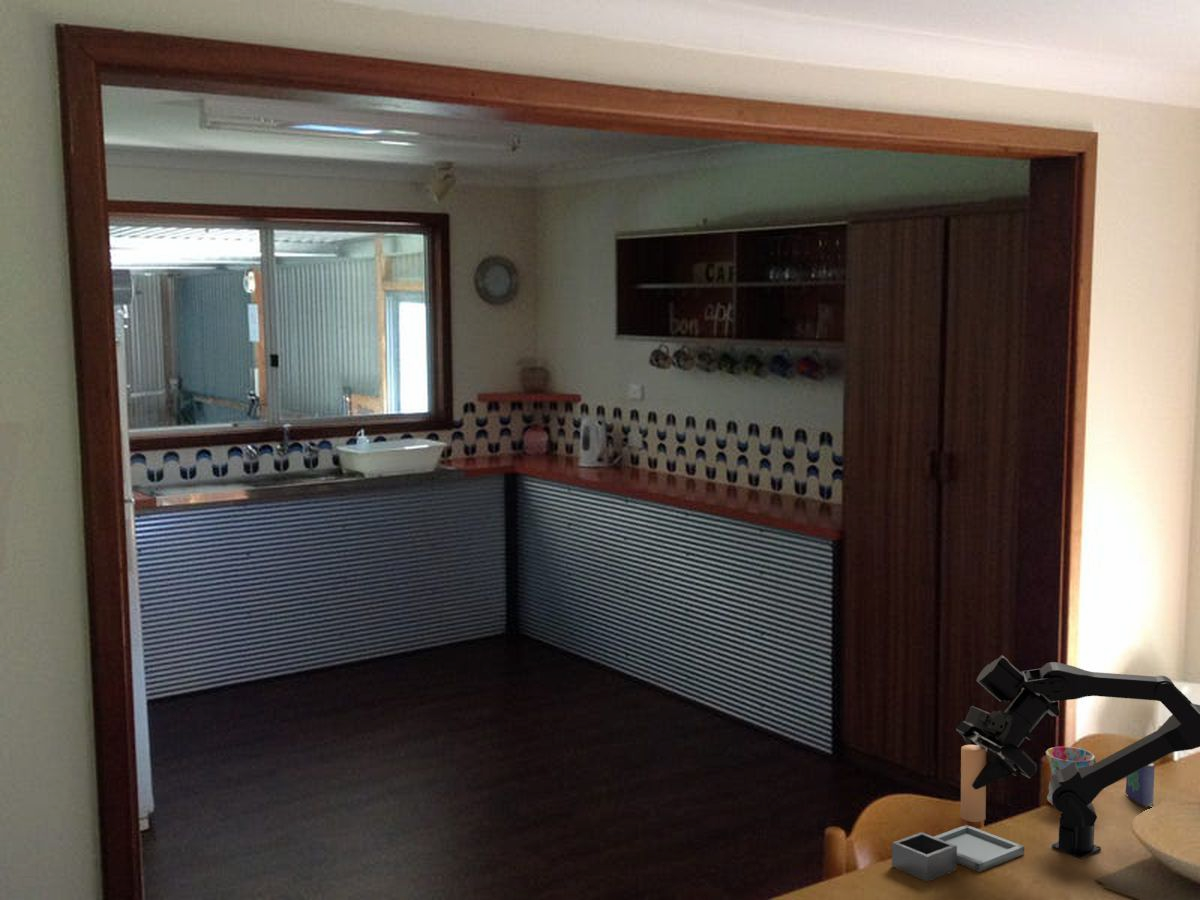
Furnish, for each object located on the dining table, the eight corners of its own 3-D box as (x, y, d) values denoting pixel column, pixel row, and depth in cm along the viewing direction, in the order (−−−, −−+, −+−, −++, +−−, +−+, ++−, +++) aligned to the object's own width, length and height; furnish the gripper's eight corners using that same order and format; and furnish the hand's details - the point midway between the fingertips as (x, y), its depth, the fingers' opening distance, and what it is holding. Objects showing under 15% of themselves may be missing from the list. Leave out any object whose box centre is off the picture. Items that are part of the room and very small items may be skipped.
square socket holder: (921, 855, 237) (921, 831, 237) (956, 870, 231) (956, 845, 230) (891, 866, 233) (892, 842, 232) (927, 881, 226) (927, 857, 226)
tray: (966, 832, 248) (966, 824, 248) (1024, 854, 238) (1024, 846, 237) (921, 848, 240) (921, 841, 240) (979, 872, 230) (979, 864, 230)
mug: (1071, 816, 256) (1072, 764, 255) (1034, 801, 264) (1035, 751, 263) (1112, 805, 261) (1114, 754, 260) (1075, 790, 269) (1076, 741, 268)
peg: (970, 810, 241) (971, 743, 240) (990, 817, 237) (991, 749, 236) (955, 816, 238) (956, 748, 237) (975, 823, 235) (976, 754, 233)
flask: (1155, 808, 259) (1157, 756, 258) (1141, 809, 259) (1142, 757, 258) (1135, 792, 269) (1136, 742, 268) (1121, 792, 268) (1122, 742, 267)
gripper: (965, 678, 246) (913, 741, 244) (1023, 705, 228) (967, 773, 226) (1001, 714, 248) (950, 776, 247) (1060, 744, 231) (1006, 811, 229)
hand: (966, 783), depth 237 cm, fingers closed on peg, 4 cm apart
